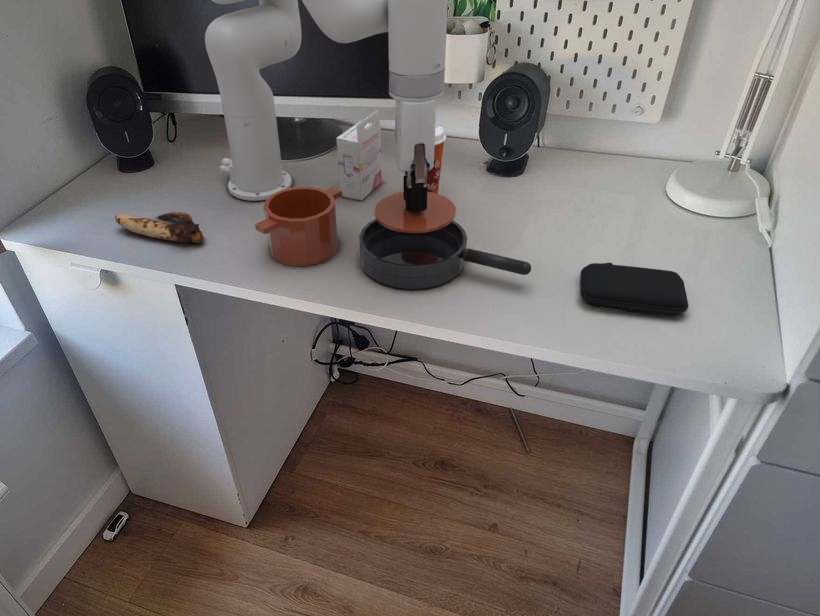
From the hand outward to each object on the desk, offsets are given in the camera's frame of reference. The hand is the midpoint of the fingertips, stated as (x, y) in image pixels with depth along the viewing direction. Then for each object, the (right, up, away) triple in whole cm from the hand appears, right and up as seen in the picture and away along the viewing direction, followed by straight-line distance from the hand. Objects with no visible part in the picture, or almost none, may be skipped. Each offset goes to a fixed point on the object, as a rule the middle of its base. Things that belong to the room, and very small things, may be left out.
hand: (415, 203), depth 99 cm
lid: (0, -1, +1) cm, 2 cm away
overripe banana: (-43, -1, +17) cm, 47 cm away
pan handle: (+12, -10, 0) cm, 16 cm away
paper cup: (+3, +5, +22) cm, 23 cm away
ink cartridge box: (-8, +9, +27) cm, 29 cm away
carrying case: (+32, -14, -2) cm, 35 cm away
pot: (-18, -5, +11) cm, 22 cm away
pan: (0, -8, +7) cm, 10 cm away
